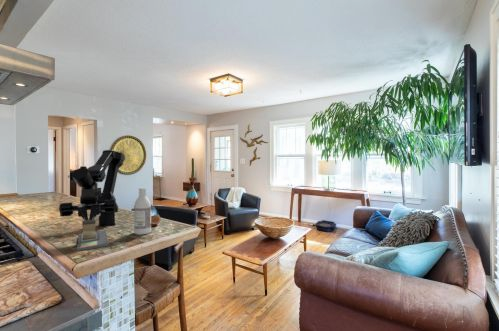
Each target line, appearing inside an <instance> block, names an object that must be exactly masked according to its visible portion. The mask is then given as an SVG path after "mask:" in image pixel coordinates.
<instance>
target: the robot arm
mask: <svg viewBox="0 0 499 331" xmlns="http://www.w3.org/2000/svg"><path fill="white" fill-rule="evenodd" d="M125 156H126V155H125V154H124V153H123V152H121V151H120V152H119V151H116V150H114V149H105V150H102V154H101V155H100V157H99V158H98V160H97V161H96V162H95V164H93V165H92V166H89V167H87V166H86V165H85V166H80V168H77V169H75V170H74V171H72V173H71V177H72V179H73V180H74V182H75V183H76V185H77V186H78V187H80V188H81V190H80V198H79V203H78V204H77V205H73V202H72V201H70V202H62V203H60V204H59V206H58V207H59V208H58V210H59V215H60V217H62V218H63V217H71V216H72V215H74V212H77V216H78V217H81V218H82V219H83V221H84V220H94V219H95V218H96V217H97V216H98V226H100V228H101V227H108V226H115V225H116V217H115V216H116V213H119V205H118V203H117V202H116V200H117V199H116V196H115V195H114V192H115V187H116V181H117V178H118V172H119V169H120V168H121V167H122V166H123V165H124V162H125V160H126V157H125ZM106 170H107V172H106ZM102 182H104V184H103V188H102V187H98V183H102ZM88 211H90V212H89V214H88Z"/></svg>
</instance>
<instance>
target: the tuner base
mask: <svg viewBox="0 0 499 331" xmlns="http://www.w3.org/2000/svg"><path fill="white" fill-rule="evenodd" d="M95 235H96V238H95V239H88V240H82V238H83V233H78V235H77V236H78V239H77V242H78V243H77V247H76V251H77V252H78V251H79V252H80V251H87V250H91V249H98V248H99V249H100V248H104V247H109V242H108V235H107V230H100V231H95Z"/></svg>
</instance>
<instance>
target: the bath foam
mask: <svg viewBox="0 0 499 331" xmlns="http://www.w3.org/2000/svg"><path fill="white" fill-rule="evenodd" d="M133 206H134V207H133V228H134V229H133V233H134V234H135V235H140V236H141V235H149V234H150V233H151V231H152V226H151V217H152V204H151V201H150V199H149V198H148V196H147V187H139V188H138V197H137V198H136V200H135V201H134V205H133Z"/></svg>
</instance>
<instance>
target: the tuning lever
mask: <svg viewBox="0 0 499 331" xmlns="http://www.w3.org/2000/svg"><path fill="white" fill-rule="evenodd" d="M81 225H82V234H83V238H82V240H88V239H95V238H96V235H95V232H96V219H95V218H94V220H89V219H88V220H84V219H83V220H82V224H81Z"/></svg>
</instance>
